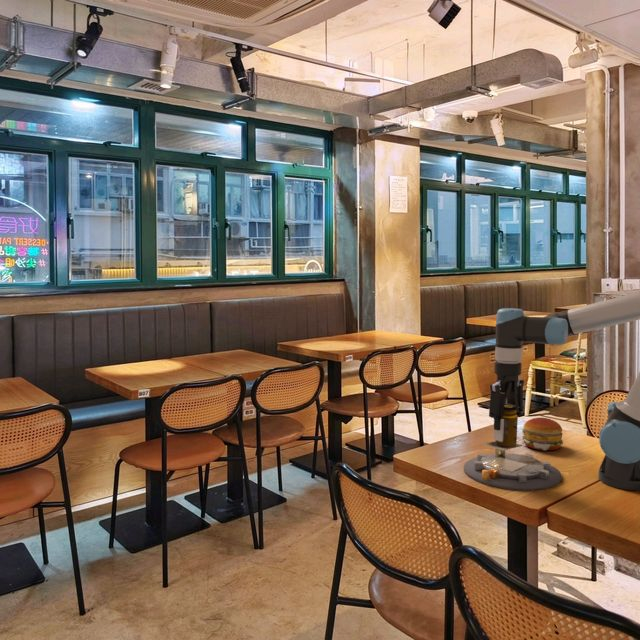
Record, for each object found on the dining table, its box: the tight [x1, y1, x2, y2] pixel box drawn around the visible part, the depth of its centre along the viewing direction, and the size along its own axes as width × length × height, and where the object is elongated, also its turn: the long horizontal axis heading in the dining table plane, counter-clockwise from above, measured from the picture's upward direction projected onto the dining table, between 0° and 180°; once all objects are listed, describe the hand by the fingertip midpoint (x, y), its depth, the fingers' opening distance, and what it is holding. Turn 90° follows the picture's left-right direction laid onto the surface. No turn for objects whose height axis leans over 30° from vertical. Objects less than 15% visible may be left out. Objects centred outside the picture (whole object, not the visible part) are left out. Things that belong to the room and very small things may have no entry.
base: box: [463, 456, 563, 491], centre depth 186 cm, size 28×28×4 cm
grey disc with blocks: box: [474, 448, 552, 482], centre depth 186 cm, size 22×22×8 cm
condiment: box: [484, 403, 523, 451], centre depth 182 cm, size 7×8×12 cm
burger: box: [521, 417, 564, 451], centre depth 212 cm, size 13×14×10 cm
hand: (505, 438), depth 183 cm, fingers closed on condiment, 6 cm apart
